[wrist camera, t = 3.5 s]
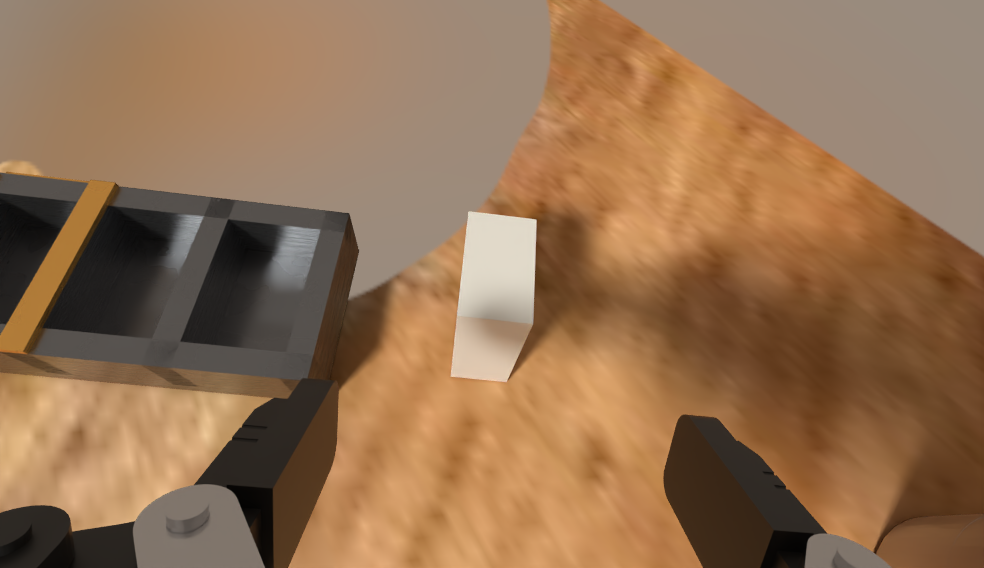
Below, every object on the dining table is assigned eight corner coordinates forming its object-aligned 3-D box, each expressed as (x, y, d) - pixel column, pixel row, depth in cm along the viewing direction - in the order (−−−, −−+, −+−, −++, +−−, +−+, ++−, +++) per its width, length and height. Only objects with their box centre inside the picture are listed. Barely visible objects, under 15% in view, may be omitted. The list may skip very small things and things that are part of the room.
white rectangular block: (511, 298, 29) (536, 219, 22) (506, 382, 26) (533, 323, 19) (460, 292, 28) (468, 211, 21) (450, 376, 26) (457, 315, 19)
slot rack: (359, 246, 29) (349, 205, 25) (324, 402, 25) (305, 378, 21) (31, 209, 28) (-29, 160, 24) (-67, 365, 24) (-158, 334, 20)
